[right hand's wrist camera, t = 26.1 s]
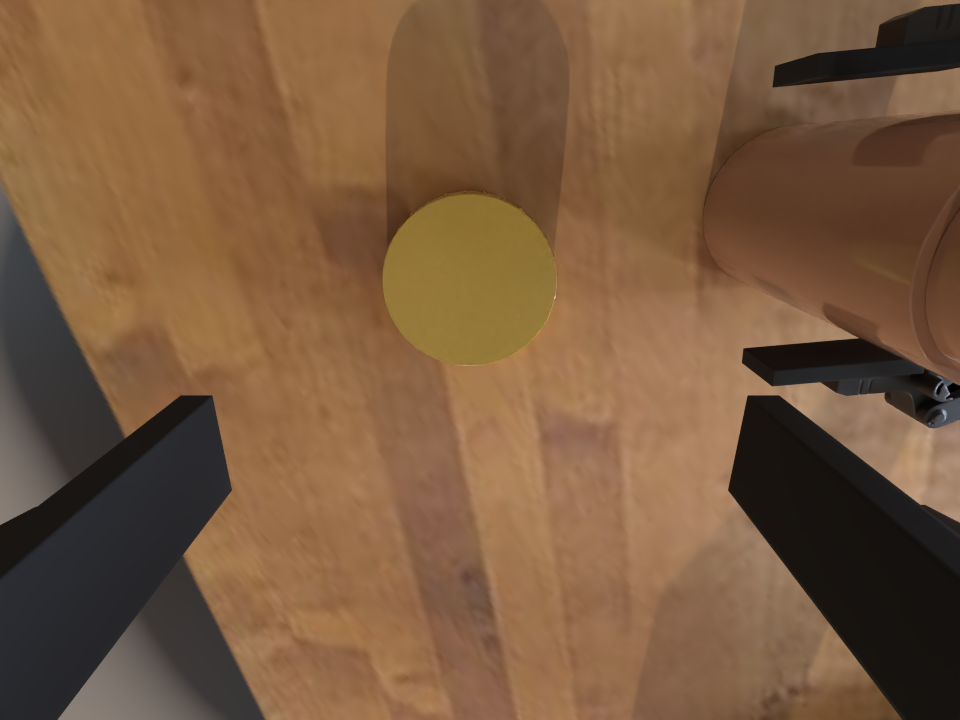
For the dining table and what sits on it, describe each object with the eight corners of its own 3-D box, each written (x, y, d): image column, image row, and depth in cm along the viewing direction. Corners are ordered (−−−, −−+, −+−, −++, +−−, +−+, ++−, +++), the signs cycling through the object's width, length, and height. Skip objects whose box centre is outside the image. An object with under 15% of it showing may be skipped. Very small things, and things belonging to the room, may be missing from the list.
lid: (397, 174, 26) (390, 176, 24) (568, 205, 27) (577, 210, 25) (379, 338, 30) (372, 353, 27) (532, 362, 30) (537, 378, 28)
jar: (834, 286, 29) (1227, 429, 14) (690, 284, 29) (929, 426, 14) (879, 126, 26) (1448, 88, 11) (718, 123, 26) (1066, 79, 11)
